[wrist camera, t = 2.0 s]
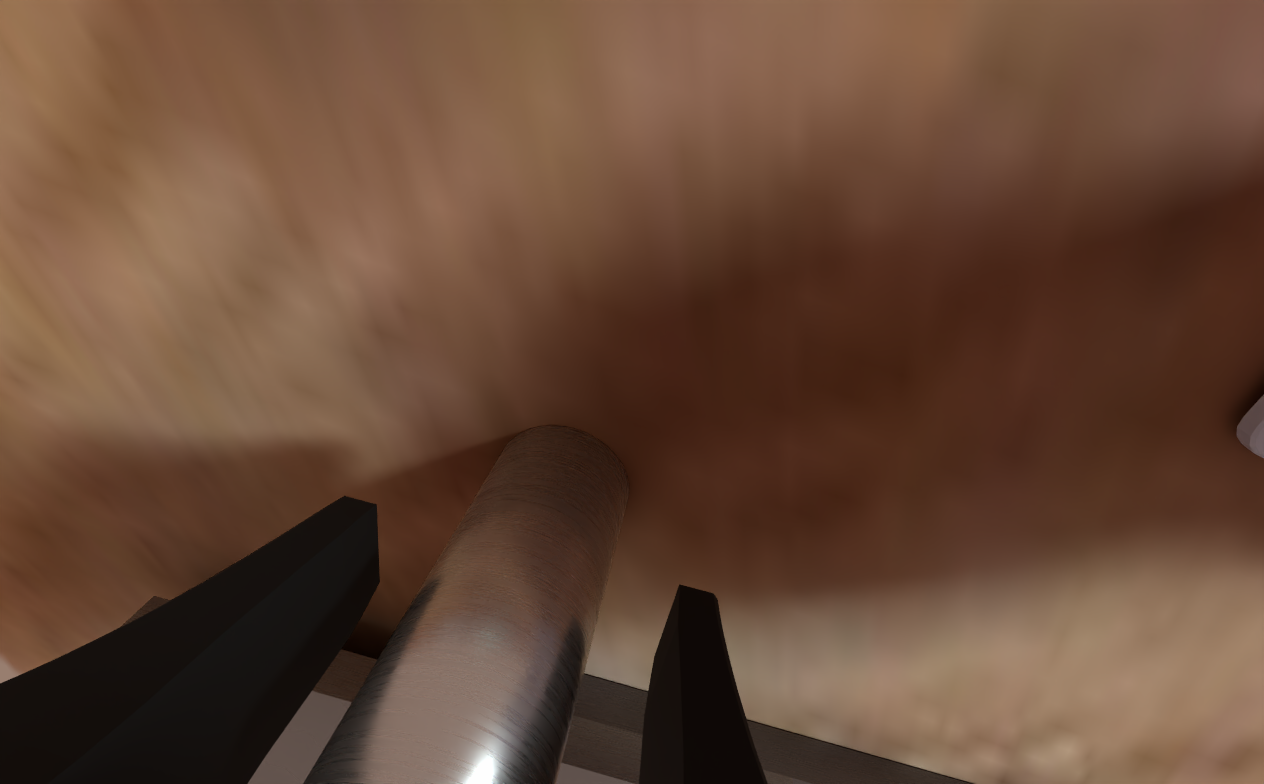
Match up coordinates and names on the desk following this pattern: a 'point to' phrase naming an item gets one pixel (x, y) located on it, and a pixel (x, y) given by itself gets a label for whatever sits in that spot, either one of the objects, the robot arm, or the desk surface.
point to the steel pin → (494, 629)
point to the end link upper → (594, 753)
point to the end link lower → (760, 743)
